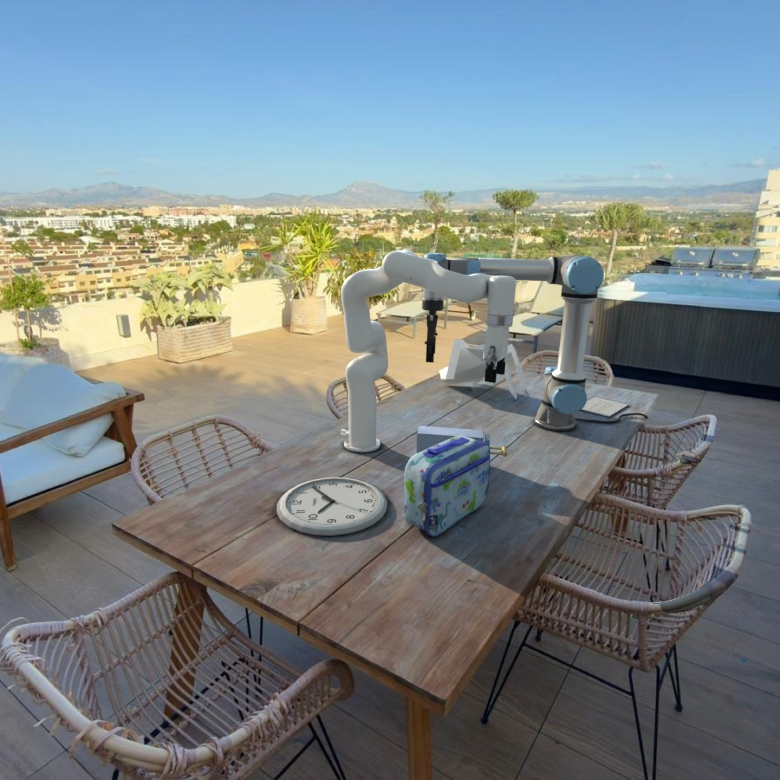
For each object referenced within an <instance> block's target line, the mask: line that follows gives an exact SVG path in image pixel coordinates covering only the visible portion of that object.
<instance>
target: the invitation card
mask: <svg viewBox="0 0 780 780" xmlns="http://www.w3.org/2000/svg"><path fill="white" fill-rule="evenodd" d="M628 406H629V404H627V403H623V402H618V401H614V400H609V399H605V398H601V397H596V396H593V397H592V398H590V399H587V401H586V404H585V406H584V407H583V408H582V409H581V410H580V411H584V412H587V413H593V414H596V415H600V416H604V417H608V418H609V417H611V416H613V415H614V414H616V413H617V412H619V411H621V410H623V409H624V408H626V407H628Z"/></svg>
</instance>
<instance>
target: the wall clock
mask: <svg viewBox="0 0 780 780" xmlns="http://www.w3.org/2000/svg"><path fill="white" fill-rule="evenodd" d="M387 509H388V500H387V498H386V496H385V494H384V493H383V492H382V491H381V490H380V489H379V488H377V487H376V486H374V485H372V484H371V483H369V482H365V481H362V480H359V479H355V478H349V477H338V476H337V477H335V476H333V477H332V476H331V477H322V478H317V479H312V480H307V481H305V482H302V483H299V484H297V485H295V486H293V487H292V488H290V489H288V490H287V491H286V492H285V493H284V494H283V495H281V496H280V498H279V499H278V502H277V503H276V515H277V517H278V518H279V520H280V521H281V522H282V523H283V524H285V525H286V526H287V527H288V528H290V529H293V530H295V531H297V532H299V533H303V534H308V535H312V536H327V537H328V536H329V537H331V536H332V537H333V536H342V535H350V534H352V533H356V532H361V531H363V530H366V529H368V528H369V527H372V526H373V525H375V524H376V523H378V522H379V521H380V520H381V519H382V518H383V517H384V516H385V514H386V512H387Z"/></svg>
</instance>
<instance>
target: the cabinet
mask: <svg viewBox="0 0 780 780" xmlns="http://www.w3.org/2000/svg"><path fill="white" fill-rule="evenodd" d="M459 435H464V436H467V437H469V438H472V439H474V440H477V441H480V442H482V441H485V436H484V430H483V429H472V428H471V429H470V428H458V427H457V428H455V427H441V426H430V425H429V426H427V425H418V429H417V433H416V454H417V453H419V452H421V451H424V450H426V449H428V448H430V447H432V446H434V445H437V444H439V443H441V442H444V441H446V440H448V439H451V438H453V437H456V436H459Z"/></svg>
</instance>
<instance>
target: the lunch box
mask: <svg viewBox="0 0 780 780" xmlns="http://www.w3.org/2000/svg"><path fill="white" fill-rule="evenodd" d="M490 447H491V446H489V444H488V443H487V442H485V440H483V441H482V442H480V441H477V440H474V439H472V438H469V437H467V436H464V435H459V436H456V437H453V438H451V439H448V440H446V441H444V442H441V443H439V444H437V445H434V446H432V447H430V448H428V449H426V450H424V451H421V452H419V453H417V452H416V453H415V454H413V455H411V457H410V458H409V459H408V460H407V463H406V464H405V467H404V472H403V517H404V521H405V522H406V523H407V524H409V525H411V526H414V527H416V528H419V529H421V530H423V531H424V532H425V533H426V535H429V536H430V537H433V538H434V537H439V536H440V535H441V534H442V533H444V532H446V531H447V530H448V529H450V528H451V527H452V526H454V525H455V524H457V523H458V522H459V521H461V520H463V519H464V518H465V517H466V516H468V515H469V514H471V513H473V512H475V511H476V510H478V509H479V508H481V507H482V505H484V502H486V501H485V500H486V499H487V496H488V493H489V487H490V473H491V454H490V452H491V449H490Z"/></svg>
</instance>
